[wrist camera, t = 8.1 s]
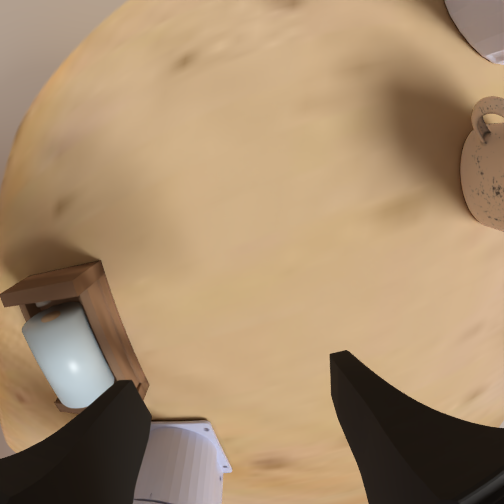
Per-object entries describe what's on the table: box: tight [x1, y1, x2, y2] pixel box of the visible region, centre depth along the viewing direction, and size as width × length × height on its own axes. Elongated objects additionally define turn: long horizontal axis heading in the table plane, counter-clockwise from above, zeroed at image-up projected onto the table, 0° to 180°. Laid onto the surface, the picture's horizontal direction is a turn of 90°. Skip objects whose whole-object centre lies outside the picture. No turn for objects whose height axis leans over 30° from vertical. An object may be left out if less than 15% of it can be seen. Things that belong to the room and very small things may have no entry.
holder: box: [0, 260, 149, 414], centre depth 18 cm, size 11×8×4 cm
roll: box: [22, 302, 114, 408], centre depth 16 cm, size 6×5×5 cm
